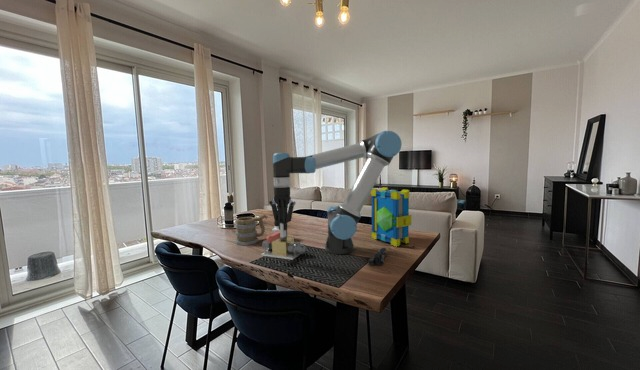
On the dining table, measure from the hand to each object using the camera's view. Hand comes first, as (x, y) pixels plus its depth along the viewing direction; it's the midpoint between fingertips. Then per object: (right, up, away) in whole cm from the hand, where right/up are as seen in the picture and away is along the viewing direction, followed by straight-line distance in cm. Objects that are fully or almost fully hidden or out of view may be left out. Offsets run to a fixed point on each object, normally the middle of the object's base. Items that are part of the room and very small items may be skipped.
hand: (283, 236), depth 126 cm
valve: (-1, -11, +12) cm, 16 cm away
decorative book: (+57, -8, +28) cm, 64 cm away
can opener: (+45, -11, -1) cm, 47 cm away
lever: (-4, -4, +6) cm, 8 cm away
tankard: (-23, -10, +35) cm, 43 cm away
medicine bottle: (-7, -9, +37) cm, 38 cm away
